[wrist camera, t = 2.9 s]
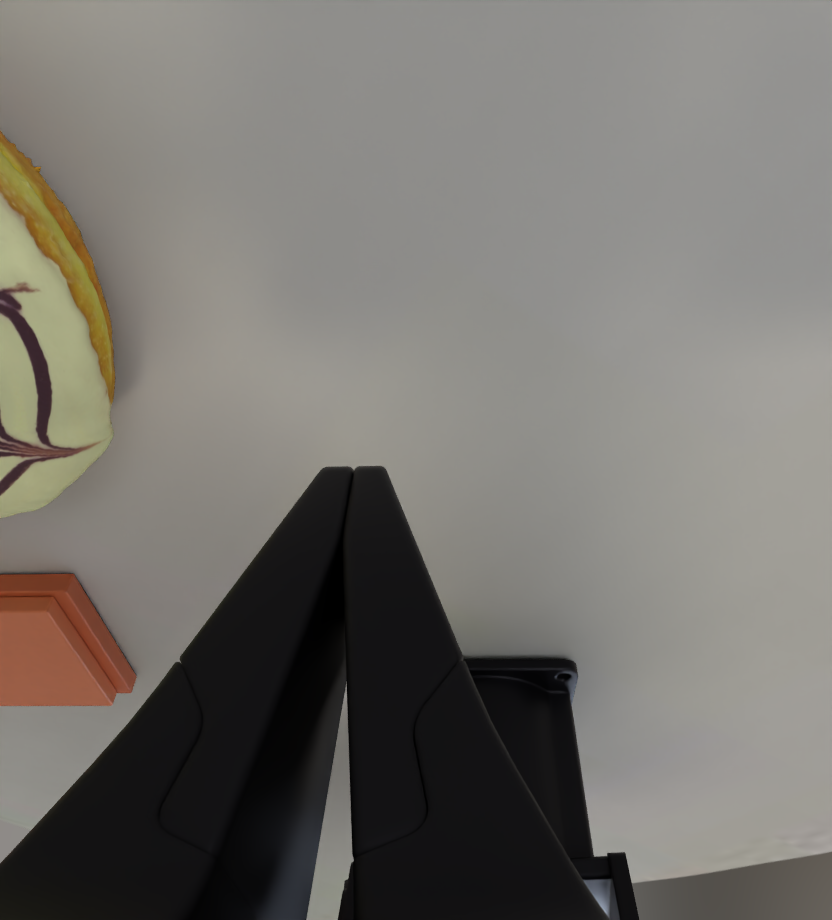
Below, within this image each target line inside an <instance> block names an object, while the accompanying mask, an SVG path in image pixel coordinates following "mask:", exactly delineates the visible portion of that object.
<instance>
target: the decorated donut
mask: <svg viewBox="0 0 832 920" xmlns="http://www.w3.org/2000/svg"><path fill="white" fill-rule="evenodd" d="M40 169H41V167H34V166H33V165H32V164H31V159H30V158H26V157H25V156H24V154H23V153H21V152H19V151H18V150H17V149H16V146H15V144H13V143H10V142H9V141H8V140H7V139H6V138H5V136H4V135H3V134H2V132H1V131H0V518H4V517H8V516H12V515H15V514H17V513H24V512H30V511H35V510H37V509H40V508H42V507H44V506H46V505H47V504H49V503H50V502H51V501H52V500H54V499H55V498H57V497H58V496H59V495H60V494H61V493H62V492H63V491H64V489H66V488H67V487H68V486H69V485H71V484H72V483H73V482H74V481H76V480H77V479H78V478H79V477H80V476H81V475H82V474H83V473H84V472H85V471H86V470H87V468H88V467H89V466H90V465H91V464H92V463H93V462H95V461H96V460H97V459H98V458H99V457H100V456H101V455H102V454H103V453H104V451H105V450H106V449H107V448H108V446H109V444H110V442H111V440H112V438H113V434H114V432H113V428H112V426H111V424H112V423H111V421H110V410H111V405H112V402H113V398H114V389H115V386H114V385H115V370H114V362H113V357H114V350H113V343H112V327H111V320H110V316H109V312H108V308H107V305H106V301H105V299H104V297H103V294H102V288H101V286H100V284H99V281H98V278H97V275H96V272H95V269H94V264H93V261H92V258H91V257H90V255H89V254H88V250H87V248H86V246H85V244H84V243H83V239H82V237H81V233H80V230H79V229H78V228H77V226H76V224H75V222H74V220H73V218H72V216H71V215H70V213H69V212H68V210H67V208H66V207H65V206H64V204H63V203H62V202H61V201H59V200H58V198H57V197H56V195H55V193H54V191H53V190H52V189H51V188H50V187H49V186H48V184H47V183H46V182H45V180H44V179H43V177H42V176H41V175H40V173H39V172H40Z"/></svg>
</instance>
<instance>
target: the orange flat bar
mask: <svg viewBox="0 0 832 920" xmlns="http://www.w3.org/2000/svg"><path fill="white" fill-rule="evenodd" d="M135 680H136V675H135V673H134V671H133V670H132V668H131V667H130V665H129V663H128V662H127V660H126V658H125V657H124V655H123V654H122V652H121V650H120V649H119V647H118V645H117V644H116V642H115V640H114V639H113V637H112V636H111V634H110V632H109V631H108V629H107V627H106V626H105V624H104V623H103V621H102V619H101V618H100V616H99V614H98V613H97V611H96V609H95V608H94V606H93V605H92V603H91V601H90V600H89V598H88V596H87V595H86V593H85V592H84V590H83V588H82V587H81V585H80V583H79V582H78V580H77V579H76V577H75V575H74V574H2V575H0V706H111V705H113V702H114V699H115V696H116V693H131V692H132V690H133V686H134V683H135Z"/></svg>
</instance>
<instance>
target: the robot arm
mask: <svg viewBox="0 0 832 920" xmlns="http://www.w3.org/2000/svg"><path fill="white" fill-rule="evenodd" d="M180 661H181V663H180V662H176V663H175V664H174V665H173V666H172V668H171V669H170V670H169V672H168V673H167V674H166V676H165V677H164V679H163V680H162V681H161V683H160V684H159V685H158V686H157V688H156V689H155V690H154V692H153V693H152V694H151V695H150V697H149V698H148V699H147V700H146V702H145V703H144V704H143V705H142V707H141V708H140V709H139V710H138V712H137V713H136V714H135V715H134V717H133V718H132V719H131V720H130V722H129V723H128V724H127V725H126V726H125V727H124V729H123V730H122V731H121V732H120V733H119V734H118V735H117V737H116V738H115V739H114V740H113V741H112V742H111V743H110V744H109V746H108V747H107V748H106V749H105V750H104V751H103V752H102V754H101V755H100V756H99V757H98V758H97V759H96V760H95V761H94V763H93V764H92V765H91V766H90V767H89V768H88V769H87V770H86V771H85V772H84V773H83V775H82V776H81V777H80V778H79V779H78V780H77V781H76V782H75V783H74V784H73V785H72V786H71V788H70V789H69V790H68V791H67V792H66V793H65V794H64V795H63V796H62V797H61V798H60V800H59V801H58V802H57V803H56V804H55V805H54V806H53V807H52V808H51V809H50V810H49V811H48V813H47V814H46V815H45V816H44V817H43V818H42V819H41V820H40V821H39V822H38V823H37V824H36V826H35V827H34V828H33V829H32V830H31V831H30V832H29V833H28V834H27V835H26V836H25V838H24V839H23V840H22V841H21V842H20V843H19V844H18V845H17V846H16V848H14V849H13V851H12V852H11V853H10V854H9V855H8V856H7V857H6V858H5V859H4V860H3V861H2V862H1V863H0V920H306V918H307V912H308V906H309V900H310V894H311V888H312V882H313V876H314V870H315V864H316V858H317V853H318V847H319V841H320V835H321V829H322V823H323V817H324V811H325V805H326V799H327V793H328V787H329V781H330V776H331V770H332V764H333V758H334V752H335V746H336V740H337V734H338V728H339V722H340V716H341V710H342V704H343V699H344V693H345V687H346V681H347V704H348V734H349V764H350V794H351V824H352V854H353V858H354V862H352V863H351V867H350V873H349V878H348V880H346V881H345V883H344V890H343V893H342V899H341V905H340V911H339V916H338V920H639V916H638V912H637V907H636V902H635V897H634V892H633V888H632V883H631V878H630V873H629V868H628V864H627V859H626V854H625V852H621V853H607V856H600V857H594V855H593V848H592V841H591V834H590V827H589V820H588V814H587V807H586V800H585V793H584V786H583V780H582V773H581V766H580V759H579V752H578V746H577V739H576V732H575V725H574V718H573V711H572V701H573V697H574V692H575V688H576V684H577V679H578V673H577V667H576V663H575V662H574V661H571V660H566V659H500V660H463V655H462V653H461V650H460V648H459V646H458V643H457V641H456V638H455V636H454V633H453V631H452V629H451V626H450V624H449V621H448V619H447V616H446V614H445V612H444V609H443V607H442V604H441V602H440V599H439V597H438V595H437V592H436V590H435V587H434V585H433V582H432V580H431V578H430V575H429V573H428V570H427V568H426V565H425V563H424V561H423V558H422V556H421V553H420V551H419V548H418V546H417V544H416V541H415V539H414V536H413V534H412V531H411V529H410V527H409V524H408V522H407V519H406V517H405V514H404V512H403V510H402V507H401V505H400V502H399V500H398V497H397V495H396V493H395V490H394V488H393V485H392V483H391V480H390V478H389V476H388V473H387V471H386V469H385V468H384V467H382V466H359V467H356V468H355V470H353V469H352V468H351V467H348V466H347V467H325V468H323V469H321V470H320V472H319V473H318V474H317V476H316V477H315V478H314V480H313V481H312V482H311V484H310V485H309V486H308V488H307V489H306V490H305V492H304V493H303V494H302V496H301V497H300V498H299V500H298V501H297V502H296V504H295V505H294V506H293V508H292V509H291V510H290V512H289V513H288V514H287V516H286V517H285V518H284V520H283V521H282V522H281V524H280V525H279V526H278V527H277V529H276V530H275V531H274V533H273V534H272V535H271V537H270V538H269V539H268V541H267V542H266V543H265V545H264V546H263V547H262V549H261V550H260V551H259V553H258V554H257V555H256V557H255V558H254V559H253V561H252V562H251V563H250V565H249V566H248V567H247V569H246V570H245V571H244V573H243V574H242V575H241V577H240V578H239V579H238V581H237V582H236V583H235V585H234V586H233V587H232V589H231V590H230V591H229V593H228V594H227V595H226V597H225V598H224V599H223V601H222V602H221V603H220V605H219V606H218V607H217V609H216V610H215V611H214V613H213V614H212V615H211V616H210V618H209V619H208V620H207V622H206V623H205V624H204V626H203V627H202V628H201V630H200V631H199V632H198V634H197V635H196V636H195V638H194V639H193V640H192V642H191V643H190V644H189V646H188V647H187V648H186V650H185V651H184V652H183V654H182V655H181V656H180Z"/></svg>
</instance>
